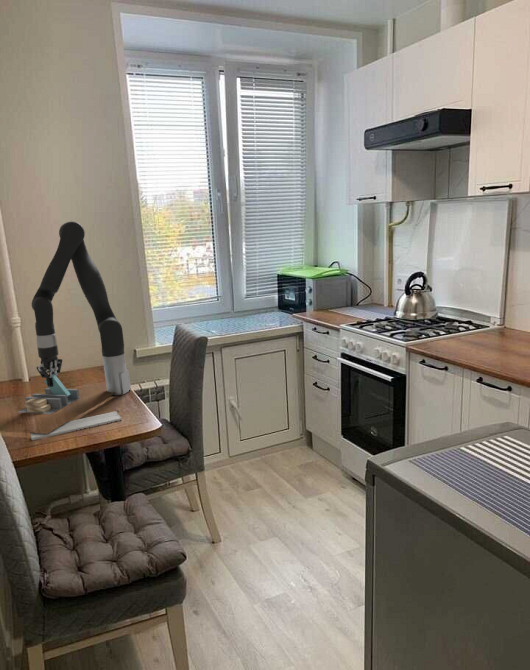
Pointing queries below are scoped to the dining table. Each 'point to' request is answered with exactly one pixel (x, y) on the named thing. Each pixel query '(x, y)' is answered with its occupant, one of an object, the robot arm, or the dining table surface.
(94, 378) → the dining table surface
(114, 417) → the baseboard molding
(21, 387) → the dining table surface
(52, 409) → the rack
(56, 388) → the teal slat
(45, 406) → the block
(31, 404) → the offcut top
